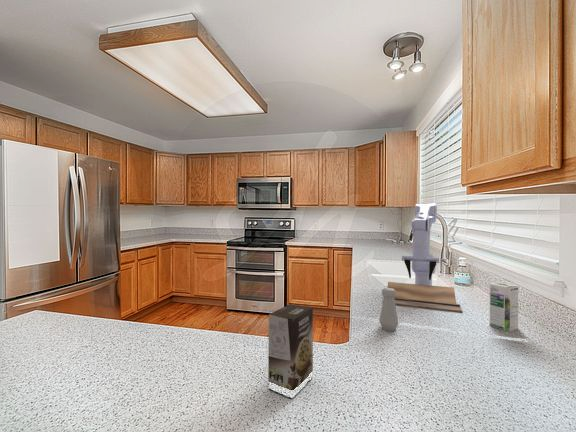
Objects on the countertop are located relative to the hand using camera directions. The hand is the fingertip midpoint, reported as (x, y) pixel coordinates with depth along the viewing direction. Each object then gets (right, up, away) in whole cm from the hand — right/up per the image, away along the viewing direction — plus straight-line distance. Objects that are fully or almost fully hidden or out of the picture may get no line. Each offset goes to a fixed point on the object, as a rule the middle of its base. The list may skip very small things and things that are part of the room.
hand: (419, 278), depth 123 cm
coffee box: (-55, -10, -60) cm, 82 cm away
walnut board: (-4, -10, -9) cm, 13 cm away
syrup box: (+13, -10, -30) cm, 34 cm away
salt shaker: (-24, -10, -30) cm, 39 cm away
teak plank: (0, -7, -1) cm, 7 cm away
